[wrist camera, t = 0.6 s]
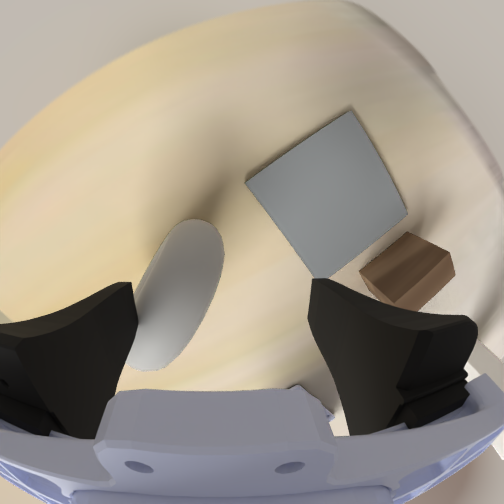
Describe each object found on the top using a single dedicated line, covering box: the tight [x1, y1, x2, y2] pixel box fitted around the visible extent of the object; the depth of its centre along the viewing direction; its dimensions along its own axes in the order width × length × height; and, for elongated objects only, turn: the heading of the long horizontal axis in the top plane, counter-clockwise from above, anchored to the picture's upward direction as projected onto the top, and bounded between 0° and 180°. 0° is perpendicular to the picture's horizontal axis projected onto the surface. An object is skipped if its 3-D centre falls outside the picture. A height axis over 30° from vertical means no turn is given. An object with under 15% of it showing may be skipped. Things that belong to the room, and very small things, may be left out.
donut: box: [125, 219, 225, 371], centre depth 16 cm, size 10×4×10 cm, turn 145°
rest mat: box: [245, 111, 408, 278], centre depth 20 cm, size 10×10×1 cm
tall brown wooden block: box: [359, 232, 455, 312], centre depth 20 cm, size 2×6×6 cm, turn 127°
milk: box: [464, 339, 504, 460], centre depth 19 cm, size 6×6×22 cm
